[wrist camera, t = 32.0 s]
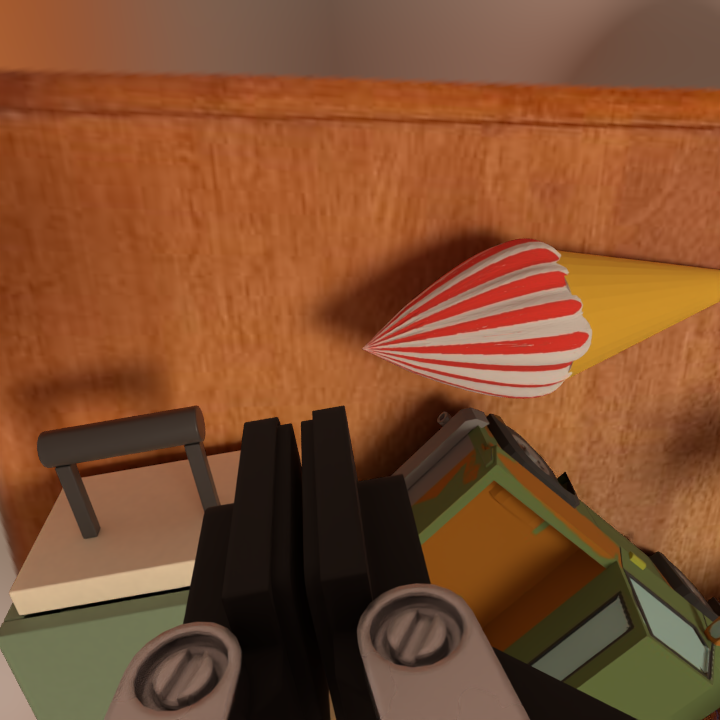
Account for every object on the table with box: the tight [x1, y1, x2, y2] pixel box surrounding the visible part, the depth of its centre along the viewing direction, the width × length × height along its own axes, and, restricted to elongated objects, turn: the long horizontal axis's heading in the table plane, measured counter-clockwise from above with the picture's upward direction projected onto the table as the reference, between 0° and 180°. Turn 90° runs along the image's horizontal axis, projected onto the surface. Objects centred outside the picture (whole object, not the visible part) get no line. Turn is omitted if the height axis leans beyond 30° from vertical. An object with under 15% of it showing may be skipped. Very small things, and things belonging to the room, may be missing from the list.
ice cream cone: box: [362, 239, 720, 399], centre depth 29 cm, size 6×6×20 cm
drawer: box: [9, 406, 241, 615], centre depth 30 cm, size 17×10×7 cm, turn 8°
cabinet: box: [0, 590, 336, 720], centre depth 32 cm, size 14×11×9 cm
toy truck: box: [391, 408, 720, 720], centre depth 33 cm, size 11×21×10 cm, turn 47°
